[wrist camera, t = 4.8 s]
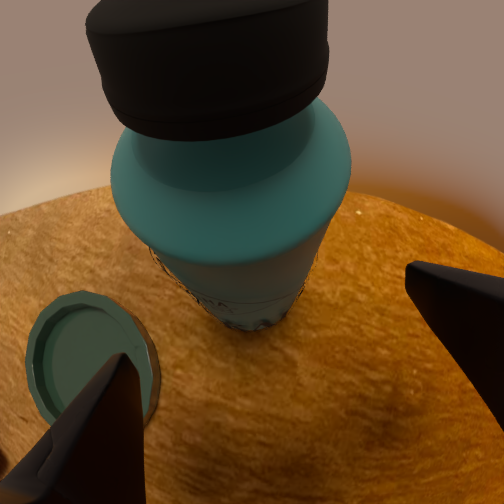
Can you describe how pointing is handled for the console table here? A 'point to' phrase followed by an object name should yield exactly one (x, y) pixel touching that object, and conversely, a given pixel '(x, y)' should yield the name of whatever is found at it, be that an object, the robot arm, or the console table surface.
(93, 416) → the robot arm
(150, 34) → the beverage bottle
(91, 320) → the green round tray
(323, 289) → the console table surface
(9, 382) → the console table surface
